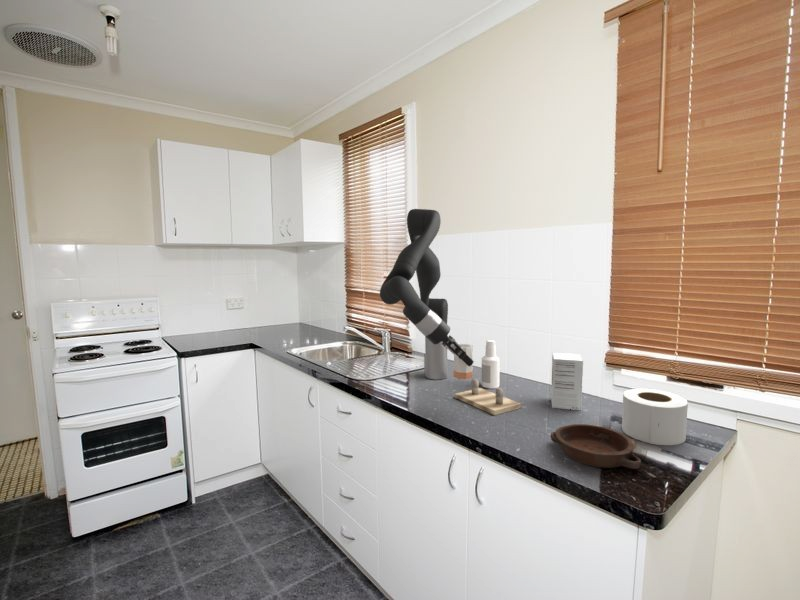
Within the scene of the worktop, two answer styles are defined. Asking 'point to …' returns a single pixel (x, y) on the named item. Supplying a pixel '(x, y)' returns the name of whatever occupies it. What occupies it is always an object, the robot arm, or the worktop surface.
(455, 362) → the sleeve
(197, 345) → the worktop surface
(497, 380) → the spray bottle
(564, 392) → the supplement box
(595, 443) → the dish
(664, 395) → the white paper roll
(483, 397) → the pin board
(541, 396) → the worktop surface
